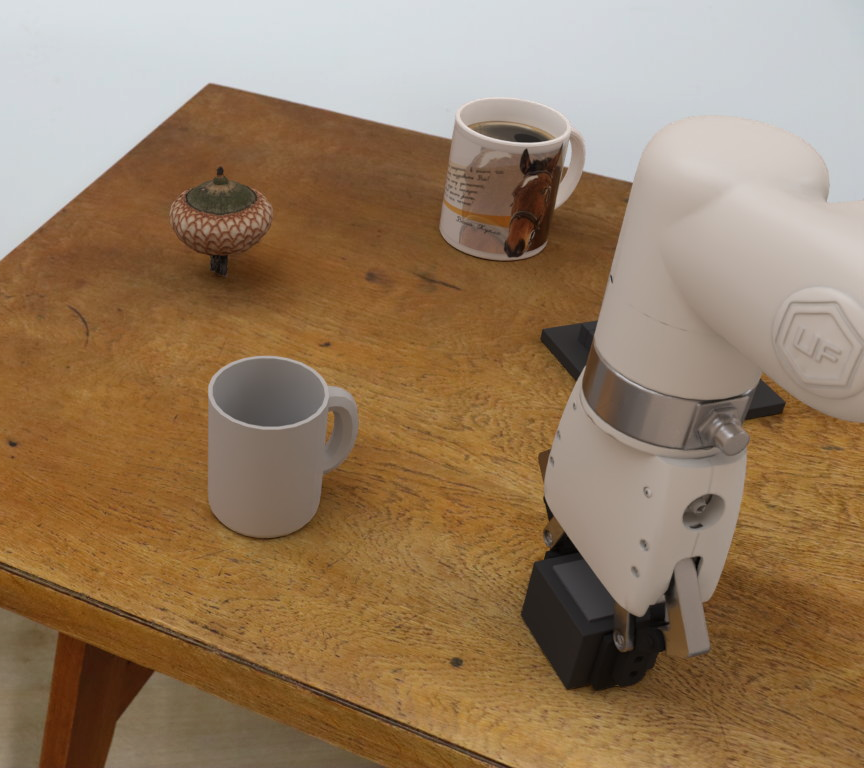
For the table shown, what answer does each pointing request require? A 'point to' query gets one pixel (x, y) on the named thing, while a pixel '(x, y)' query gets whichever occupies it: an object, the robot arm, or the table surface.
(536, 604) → the small cube
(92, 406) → the table surface
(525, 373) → the table surface
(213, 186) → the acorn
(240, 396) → the cup
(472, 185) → the mug
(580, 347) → the base pad
